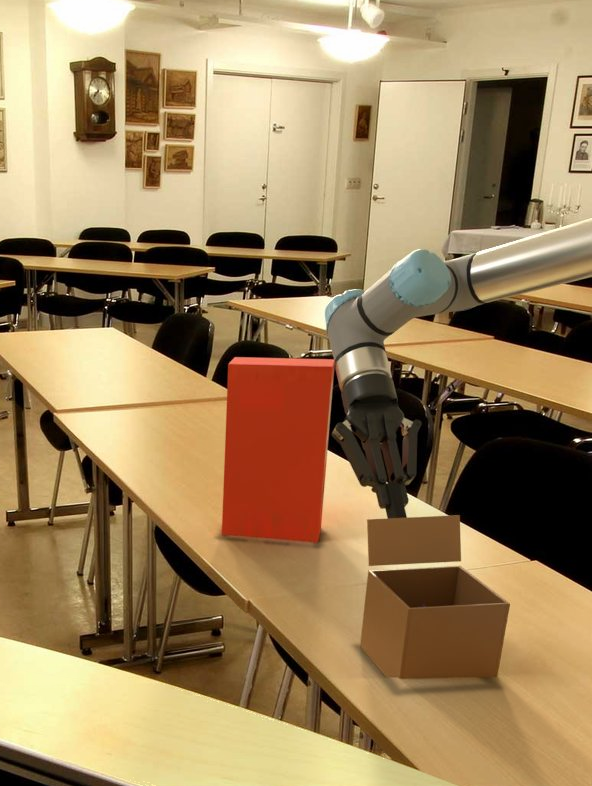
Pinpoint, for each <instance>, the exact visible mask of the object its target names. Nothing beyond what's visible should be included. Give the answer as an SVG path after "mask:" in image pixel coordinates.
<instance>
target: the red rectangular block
mask: <svg viewBox="0 0 592 786" xmlns="http://www.w3.org/2000/svg"><path fill="white" fill-rule="evenodd" d="M335 368H336V367H335V361H334V358H331V359H330V358H329V359H328V358H291V357H289V358H285V357H249V356H248V357H247V356H246V357H245V356H234V357H233V358H232V359H231V361H229V363H228V365H227V384H226V385H227V386H226V387H227V390H226V410H225V411H226V412H225V413H226V415H225V436H224V437H225V438H224V440H225V441H224V463H223V464H224V465H223V489H222V491H223V494H222V515H221V517H222V518H221V535H222V536H234V537H245V538H255V539H256V538H257V539H269V540H279V541H280V540H282V541H293V542H305V543H316V544H318V543H319V539H320V534H321V529H322V522H323V521H322V520H323V508H324V499H325V498H324V496H325V486H326V485H325V483H326V474H327V473H326V472H327V460H328V449H329V437H330V424H331V412H332V400H333V389H334V379H335V378H334V377H335Z"/></svg>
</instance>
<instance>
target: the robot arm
mask: <svg viewBox="0 0 592 786" xmlns="http://www.w3.org/2000/svg"><path fill="white" fill-rule="evenodd" d="M588 278H592V217H591V218H587V219H583V220H581V221H578V222H574V223H571V224H567V225H565V226H561V227H558V228H554V229H551V230H548V231H544V232H540V233H537V234H534V235H531V236H527V237H524V238H521V239H517V240H514V241H511V242H507V243H505V244H501V245H498V246H495V247H492V248H491V247H490V248H488V249H484V250H481V251H478V252H475V253H470V254H467V255H464V256H460V257H457V258H453V259H450V260H443V259H442V258H441V257H440V256H439V255H437V253H435V252H433V251H432V252H430V250H428V249H426V248H419V249H415V250H413V251H411V253H409V254H408V255H406V256H405V257H404V258H402V259H400V260H398V261H397V262H396V263H395V264H393V266H392V268H390V269H389V270H388V271H387V272H386V273H384V275H383V276H381V277H380V278H379V279H378V280H376V282H374V283H373V284H372V285H371V286H370V287H368V288H367V289H366V290H363V289H357V288H355V289H348V290H345V291H344V292H343V293H342V294H336V295H335V296H334V297H332V298H331V299H330V300H329V301H328V303H327V305H326V306H325V309H324V319H325V320H324V321H325V333H326V336H327V338H328V341H329V345H330V349H331V353H332V356H333V359H334V361H335V367H334V368H335V373H336V377H337V381H338V387H339V390H340V392H341V393H340V394H341V395H340V396H341V401H342V406H343V410H344V413H345V417H344V420H343V422H337V423H336V425H335V427H334V428H333V430H332V432H331V437H332V438H333V439H334V440H335V441H336V442H337V443H338V444H339V445H340V446H341V449H342V451H343V452H344V455H345V456H346V458H347V461H348V463H349V465H350V467H351V469H352V471H353V473H354V475H355V476H356V479H357V481H358V483H359V485H360V486H361V487H363V488H366V487H370V488H371V492H372V493H374V494H375V495H376V499H377V504H378V507H379V509H381V510H385V513H386V519H388V518H408V515H407V512H406V511H407V510H406V506H407V505H408V504H409V496H408V492H407V488H406V486H409V485H410V484H411V483H412V481H413V480H414V479H415V478H416V476H417V465H418V463H417V462H418V433H419V432H420V431H419V430H420V429H421V426H422V424H423V423H422V421H421V419H414V420H410V419H408V418H406V417H405V414H404V412H403V411H402V410H401V409H400V407H399V403H398V396H397V392H396V388H395V384H394V380H393V379H392V377H393V376H392V371H391V367H390V364H389V363H390V362H389V359H388V356H387V352H386V347H385V343H384V342H385V341H386V339H387V338H389V337H390V336H392V335H393V334H394V333H396V332H397V331H398V330H400V329H401V328H402V327H403V326H405V325H406V324H407V323H409V322H410V321H412V320H413V319H415V318H420V317H426V316H432V315H433V316H434V315H438V314H444V313H445V314H446V313H451V312H452V313H457V312H462V311H467V310H468V311H469V310H470V309H472V308H475V307H477V306H481V305H485V304H487V303H491V302H495V301H500V300H503V299H508V298H512V297H516V296H521V295H523V294H524V295H525V294H527V293H532V292H536V291H541V290H543V289H548V288H552V287H556V286H561V285H565V284H568V283H572V282H576V281H580V280H584V279H588ZM399 428H401V435H402V436H403V439H402V452H401V453H402V455H401V456H400V452H399V448H398V443H397V431H398V430H399ZM355 435H356V436H355ZM356 437H358V438H359V439H360V441H361V442H360V443H361V446H360V444H359V442H358V440H357V438H356ZM361 447H362V448H361ZM363 451H364V452H363ZM364 453H365V454H364ZM401 457H402V458H401ZM387 481H388V482H387Z"/></svg>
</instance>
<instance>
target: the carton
mask: <svg viewBox="0 0 592 786" xmlns="http://www.w3.org/2000/svg"><path fill="white" fill-rule="evenodd" d="M421 603H422V604H424V605H425V606H426V607H419V606H420V605H421ZM363 605H364V607H363V613H362V615H363V616H362V626H361V634H360V641H359V647H360V648H361V649H362V650H363V652H364V653H365V654H366V655H367V657H368V658H369V659H370V660H371V661H372V662H373V664H374V665H375V666H376V667H377V668H378V669H379V671H380V672H381V673H382V674H383V675H384V677H385V678H387V679H390V678H392V679H393V678H398V679H399V680H405V679H408V680H409V679H411V680H413V679H414V680H415V679H451V678H453V679H455V678H491V677H492V678H493V677H494V678H495V677H498V675H499V670H500V663H501V657H502V652H503V647H504V643H505V642H504V641H505V636H506V630H507V623H508V618H509V612H510V607H511V603H510V602H509V601H507V600H506V599H504V598H503V597H502V596H501V595H499V594H498V593H497V592H495V590H493V589H491V587H489V586H487V584H485V583H483V582H482V581H481V580H479V579H478V578H477V577H476V576H475V575H473V574H472V573H470V572H469V571H468V570H466V569H465V568H464V567H462V566H461V565H449V566H448V565H447V566H430V567H429V566H427V567H411V568H409V567H407V568H392V569H391V568H390V569H389V568H388V569H371V570H370V569H369V570H368V571H367V579H366V589H365V597H364V604H363Z"/></svg>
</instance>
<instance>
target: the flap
mask: <svg viewBox="0 0 592 786" xmlns="http://www.w3.org/2000/svg"><path fill="white" fill-rule="evenodd" d="M366 528H367V529H366V530H367V531H366V532H367V559H368V561H367V562H368V567H376V566H379V567H380V566H396V565H397V566H398V565H416V564H417V565H418V564H438V563H439V564H440V563H457V562H462V545H461V544H462V543H461V541H462V540H461V515H460V514H454V515H433V516H412V517H409V516H408V517H407V518H371V519H370V518H368V519H366Z"/></svg>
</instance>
